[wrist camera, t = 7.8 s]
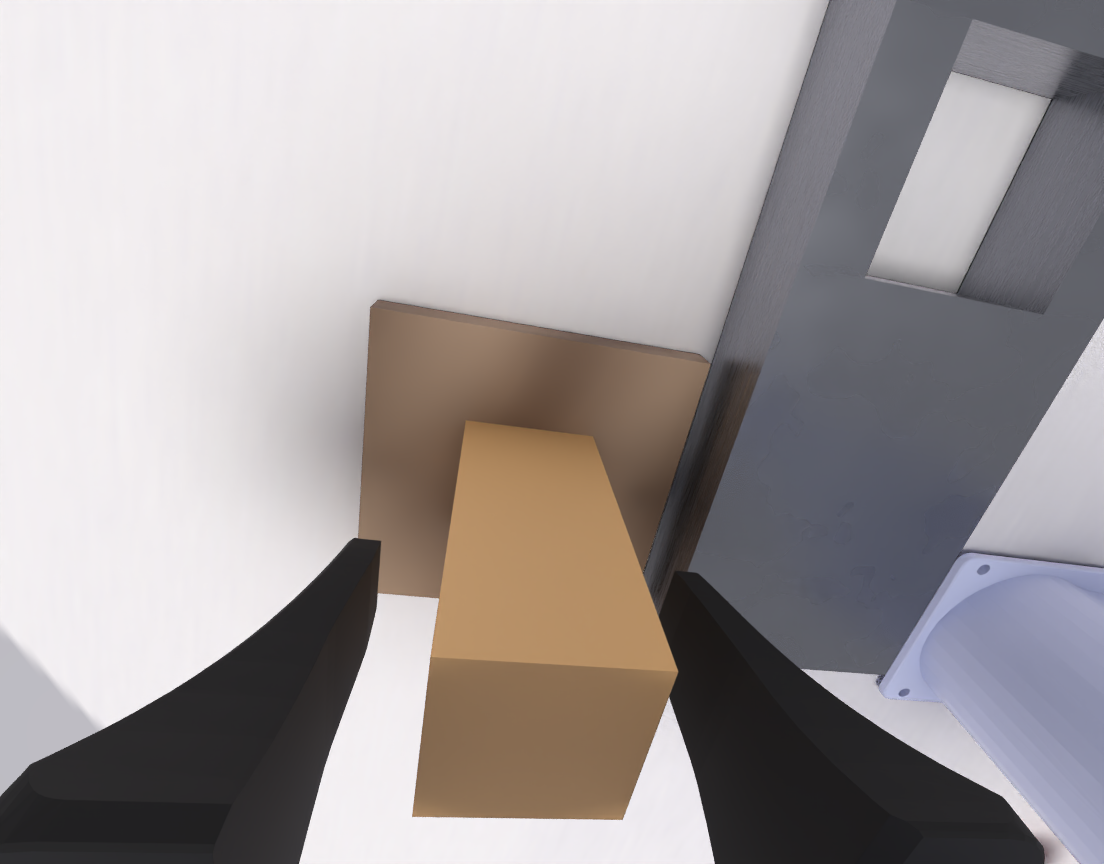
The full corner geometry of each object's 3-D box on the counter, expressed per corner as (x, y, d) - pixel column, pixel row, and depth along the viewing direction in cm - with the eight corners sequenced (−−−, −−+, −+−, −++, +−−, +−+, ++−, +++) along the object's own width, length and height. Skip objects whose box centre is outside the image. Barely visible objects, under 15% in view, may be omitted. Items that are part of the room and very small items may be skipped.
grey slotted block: (1183, -32, 14) (1350, -85, 11) (838, 615, 23) (884, 675, 20) (875, -137, 12) (980, -227, 10) (635, 597, 21) (655, 658, 18)
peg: (593, 436, 17) (678, 671, 9) (569, 540, 18) (622, 819, 10) (465, 420, 16) (430, 656, 8) (452, 528, 18) (411, 816, 10)
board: (699, 354, 17) (710, 364, 16) (623, 596, 21) (629, 614, 20) (377, 299, 16) (370, 307, 15) (362, 572, 20) (355, 591, 19)
